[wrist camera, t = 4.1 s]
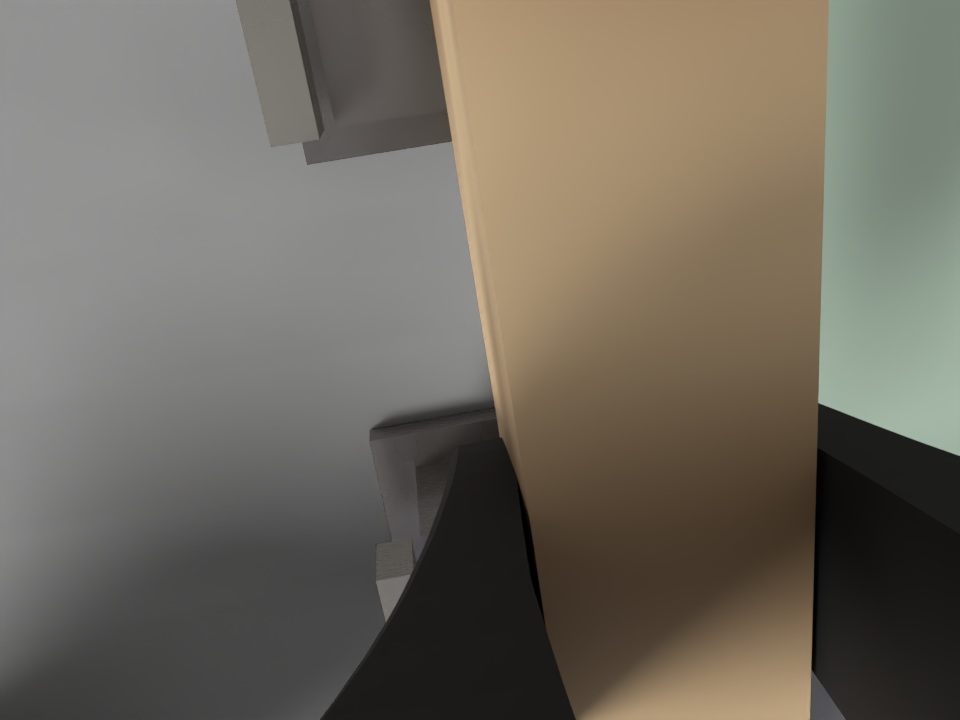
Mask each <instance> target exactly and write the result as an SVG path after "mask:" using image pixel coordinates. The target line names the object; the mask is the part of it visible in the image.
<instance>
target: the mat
mask: <svg viewBox="0 0 960 720" xmlns="http://www.w3.org/2000/svg"><path fill="white" fill-rule="evenodd" d="M818 403H819V404H822V405H825V406H827V407H830V408H833V409H835V410H838V411H840V412H843V413H845V414H848V415H851V416H853V417H856V418H858V419H861V420H863V421H866V422H869V423H871V424H874V425H876V426H879V427H882V428H884V429H887V430H890V431H892V432H895V433H897V434H900V435H903V436H905V437H908V438H911V439H914V440H916V441H919V442H922V443H924V444H927V445H930V446H933V447H936V448H939V449H941V450H944V451H947V452H950V453H953V454H956V455H959V456H960V0H829V17H828V54H827V92H826V130H825V168H824V205H823V243H822V281H821V319H820V356H819V394H818Z"/></svg>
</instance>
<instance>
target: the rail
mask: <svg viewBox="0 0 960 720" xmlns="http://www.w3.org/2000/svg"><path fill="white" fill-rule="evenodd" d="M430 6H431V12H432V19H433V25H434V31H435V37H436V44H437V50H438V56H439V62H440V68H441V75H442V81H443V87H444V93H445V100H446V106H447V112H448V118H449V124H450V131H451V137H452V143H453V149H454V155H455V162H456V168H457V174H458V180H459V187H460V193H461V199H462V205H463V211H464V218H465V224H466V230H467V236H468V242H469V249H470V255H471V261H472V267H473V274H474V280H475V286H476V292H477V298H478V305H479V311H480V317H481V323H482V329H483V336H484V342H485V348H486V354H487V361H488V367H489V373H490V379H491V385H492V392H493V398H494V404H495V410H496V416H497V423H498V429H499V435H500V438H501V437H502V439H503V441H504V443H505V446H506V448H507V451H508V453H509V456H510V459H511V462H512V464H513V467H514V470H515V473H516V476H517V483H518V489H519V496H520V502H521V509H522V515H523V522H524V528H525V534H526V541H527V547H528V554H529V560H530V567H531V573H532V580H533V586H534V592H535V595H536V598H537V602H538V605H539V608H540V611H541V615H542V618H543V621H544V625H545V628H546V631H547V634H548V637H549V640H550V643H551V646H552V650H553V653H554V656H555V659H556V662H557V665H558V668H559V671H560V675H561V678H562V681H563V684H564V687H565V690H566V692H567V695H568V698H569V701H570V704H571V707H572V710H573V713H574V716H575V719H576V720H810V696H811V658H812V621H813V583H814V545H815V507H816V470H817V432H818V394H819V356H820V319H821V281H822V243H823V205H824V168H825V130H826V92H827V54H828V17H829V0H430Z"/></svg>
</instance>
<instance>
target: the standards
mask: <svg viewBox="0 0 960 720" xmlns="http://www.w3.org/2000/svg"><path fill="white" fill-rule="evenodd" d="M236 3H237V8H238V12H239V16H240V20H241V24H242V28H243V32H244V37H245V41H246V45H247V49H248V53H249V57H250V61H251V66H252V70H253V74H254V78H255V82H256V86H257V91H258V95H259V99H260V103H261V107H262V111H263V115H264V120H265V124H266V128H267V132H268V136H269V140H270V144H271V147H275V146H281V145H287V144H294V143H300V142H302V144H303V148H304V153H305V157H306V162H307V165H309V164H315V163H321V162H327V161H333V160H339V159H346V158H352V157H358V156H364V155H370V154H376V153H383V152H389V151H395V150H401V149H407V148H414V147H420V146H426V145H432V144H438V143H444V142H451V141H452V137H451V131H450V124H449V118H448V112H447V106H446V100H445V93H444V87H443V81H442V75H441V68H440V62H439V56H438V50H437V44H436V37H435V31H434V25H433V19H432V12H431V6H430V0H236ZM496 438H500V435H499V429H498V423H497V416H496V410H495V408H492V409H486V410H481V411H475V412H469V413H464V414H458V415H453V416H447V417H441V418H436V419H430V420H425V421H419V422H413V423H408V424H402V425H396V426H391V427H385V428H380V429H374V430H370V446H371V450H372V454H373V459H374V463H375V468H376V472H377V477H378V481H379V485H380V490H381V494H382V499H383V503H384V508H385V512H386V516H387V521H388V525H389V530H390V534H391V539H392V541H390V542H385V543H380V544H376V584H377V588H378V592H379V596H380V600H381V604H382V609H383V613H384V617H385V621H386V622H387V620H388V618H389V616H390V615H391V613H392V611H393V609H394V607H395V605H396V604H397V602H398V600H399V598H400V596H401V594H402V592H403V590H404V588H405V586H406V584H407V582H408V580H409V578H410V576H411V573H412V571H413V569H414V567H415V565H416V563H417V561H418V559H419V556H420V554H421V552H422V550H423V548H424V545H425V543H426V541H427V538H428V535H429V533H430V530H431V527H432V525H433V522H434V519H435V517H436V514H437V511H438V509H439V506H440V503H441V499H442V496H443V493H444V489H445V486H446V482H447V478H448V474H449V468H450V461H451V454H452V453H453V452H454V450H455V449H456V448H457V446H459V445H464V444H469V443H475V442H480V441H485V440H491V439H496Z"/></svg>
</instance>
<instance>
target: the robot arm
mask: <svg viewBox="0 0 960 720" xmlns="http://www.w3.org/2000/svg"><path fill="white" fill-rule="evenodd" d="M811 669H812V671H813V672H814V674H815V675H816V677H817V678H818V679H819V681H820V682H821V684H822V685H823V687H824V688H825V690H826V691H827V693H828V694H829V695H830V697H831V698H832V700H833V701H834V703H835V704H836V706H837V707H838V708H839V710H840V711H841V713H842V714H843V716H844V717H845V719H846V720H960V456H959V455H956V454H953V453H950V452H947V451H944V450H941V449H939V448H936V447H933V446H930V445H927V444H924V443H922V442H919V441H916V440H914V439H911V438H908V437H905V436H903V435H900V434H897V433H895V432H892V431H890V430H887V429H884V428H882V427H879V426H876V425H874V424H871V423H869V422H866V421H863V420H861V419H858V418H856V417H853V416H851V415H848V414H845V413H843V412H840V411H838V410H835V409H833V408H830V407H827V406H825V405H822V404H819V403H818V432H817V470H816V507H815V545H814V583H813V621H812V658H811ZM320 720H576V719H575V716H574V713H573V710H572V707H571V704H570V701H569V698H568V695H567V692H566V690H565V687H564V684H563V681H562V678H561V675H560V671H559V668H558V665H557V662H556V659H555V656H554V653H553V650H552V646H551V643H550V640H549V637H548V634H547V631H546V628H545V625H544V621H543V618H542V615H541V611H540V608H539V605H538V602H537V598H536V595H535V592H534V586H533V580H532V573H531V567H530V560H529V554H528V547H527V541H526V534H525V528H524V522H523V515H522V509H521V502H520V496H519V489H518V483H517V476H516V473H515V470H514V467H513V464H512V462H511V459H510V456H509V453H508V451H507V448H506V446H505V443H504V441H503V439H502V437H501V438H496V439H491V440H485V441H480V442H475V443H469V444H464V445H459V446H457V448H456V449H455V450H454V452H453V453H452V454H451V461H450V468H449V474H448V478H447V482H446V486H445V489H444V493H443V496H442V499H441V503H440V506H439V509H438V511H437V514H436V517H435V519H434V522H433V525H432V527H431V530H430V533H429V535H428V538H427V541H426V543H425V545H424V548H423V550H422V552H421V554H420V556H419V559H418V561H417V563H416V565H415V567H414V569H413V571H412V573H411V576H410V578H409V580H408V582H407V584H406V586H405V588H404V590H403V592H402V594H401V596H400V598H399V600H398V602H397V604H396V605H395V607H394V609H393V611H392V613H391V615H390V616H389V618H388V620H387V622H386V623H385V625H384V627H383V628H382V630H381V632H380V633H379V635H378V636H377V638H376V640H375V641H374V643H373V645H372V646H371V648H370V650H369V651H368V653H367V654H366V656H365V657H364V659H363V660H362V662H361V663H360V665H359V666H358V667H357V669H356V670H355V672H354V673H353V675H352V676H351V677H350V679H349V680H348V682H347V683H346V685H345V686H344V688H343V689H342V690H341V692H340V693H339V695H338V696H337V698H336V699H335V700H334V702H333V703H332V704H331V706H330V707H329V708H328V710H327V711H326V712H325V714H324V715H323V716H322V718H321V719H320Z"/></svg>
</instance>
